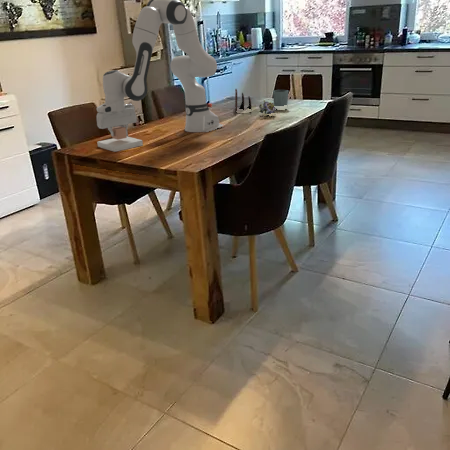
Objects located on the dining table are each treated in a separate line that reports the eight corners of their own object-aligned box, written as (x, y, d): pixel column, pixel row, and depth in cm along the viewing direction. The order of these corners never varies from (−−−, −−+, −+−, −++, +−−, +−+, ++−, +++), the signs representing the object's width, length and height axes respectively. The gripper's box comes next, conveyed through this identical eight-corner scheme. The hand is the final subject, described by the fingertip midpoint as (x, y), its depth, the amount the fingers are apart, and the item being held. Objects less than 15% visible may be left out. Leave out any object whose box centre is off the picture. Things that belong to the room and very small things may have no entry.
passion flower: (271, 125, 290) (269, 112, 280) (256, 121, 295) (253, 107, 284) (279, 113, 294) (277, 98, 284) (264, 108, 299) (261, 94, 289)
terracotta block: (121, 136, 236) (119, 126, 234) (126, 137, 232) (125, 127, 230) (112, 138, 232) (111, 128, 231) (117, 139, 229) (116, 129, 227)
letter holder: (236, 113, 304) (235, 91, 298) (235, 108, 322) (234, 87, 316) (251, 113, 304) (251, 90, 298) (249, 108, 322) (249, 86, 316)
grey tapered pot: (273, 110, 307) (273, 91, 302) (272, 108, 316) (272, 89, 312) (288, 110, 307) (289, 91, 302) (287, 107, 316) (287, 89, 311)
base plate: (125, 140, 244) (125, 135, 243) (143, 145, 233) (142, 140, 232) (97, 146, 234) (97, 141, 233) (114, 151, 223) (113, 146, 222)
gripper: (130, 102, 235) (133, 130, 240) (93, 108, 222) (97, 137, 228) (137, 103, 230) (140, 131, 236) (99, 109, 218) (104, 139, 223)
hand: (119, 134), depth 232 cm, fingers closed on terracotta block, 5 cm apart
